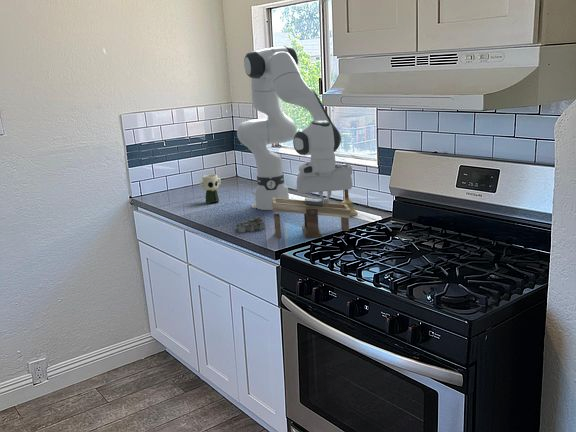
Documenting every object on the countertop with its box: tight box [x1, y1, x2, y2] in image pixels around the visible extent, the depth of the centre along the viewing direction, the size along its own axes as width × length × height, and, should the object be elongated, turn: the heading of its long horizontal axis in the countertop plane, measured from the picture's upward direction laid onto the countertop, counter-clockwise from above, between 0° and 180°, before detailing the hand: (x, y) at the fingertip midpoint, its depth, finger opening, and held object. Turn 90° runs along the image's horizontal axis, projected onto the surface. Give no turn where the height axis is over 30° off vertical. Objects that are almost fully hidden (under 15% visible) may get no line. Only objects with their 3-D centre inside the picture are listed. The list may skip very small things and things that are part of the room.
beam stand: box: [273, 208, 350, 239], centre depth 216 cm, size 14×27×10 cm, turn 93°
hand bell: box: [340, 189, 359, 217], centre depth 238 cm, size 8×8×16 cm
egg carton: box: [235, 215, 265, 233], centre depth 227 cm, size 11×8×4 cm
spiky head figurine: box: [199, 174, 222, 203], centre depth 277 cm, size 11×7×13 cm, turn 126°
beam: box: [271, 198, 351, 219], centre depth 215 cm, size 9×28×3 cm, turn 93°
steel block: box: [304, 197, 323, 207], centre depth 214 cm, size 5×6×4 cm
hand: (325, 203), depth 215 cm, fingers closed
